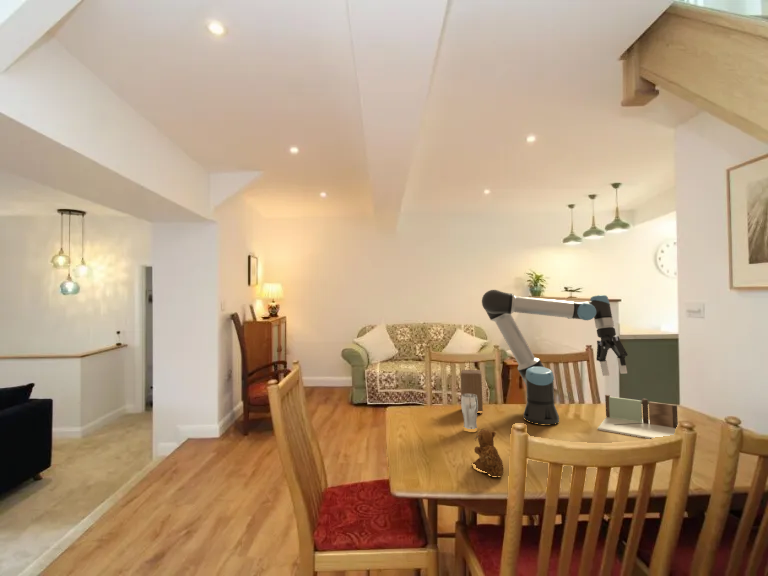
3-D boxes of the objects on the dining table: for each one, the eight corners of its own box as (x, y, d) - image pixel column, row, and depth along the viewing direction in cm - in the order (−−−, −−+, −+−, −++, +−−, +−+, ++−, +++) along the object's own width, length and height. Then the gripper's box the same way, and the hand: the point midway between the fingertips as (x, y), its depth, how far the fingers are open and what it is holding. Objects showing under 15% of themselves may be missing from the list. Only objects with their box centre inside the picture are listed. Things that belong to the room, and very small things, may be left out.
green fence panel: (605, 416, 178) (604, 395, 178) (606, 415, 179) (605, 394, 179) (641, 422, 169) (640, 399, 169) (642, 421, 170) (641, 399, 170)
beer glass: (465, 426, 173) (464, 392, 173) (480, 429, 170) (479, 394, 170) (459, 431, 167) (458, 396, 167) (475, 434, 164) (474, 398, 164)
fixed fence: (642, 425, 168) (641, 399, 168) (643, 423, 170) (642, 398, 170) (677, 430, 160) (676, 403, 161) (678, 429, 162) (677, 402, 162)
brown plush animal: (498, 462, 136) (496, 424, 136) (513, 481, 122) (511, 439, 122) (469, 464, 135) (468, 425, 136) (481, 483, 121) (479, 440, 122)
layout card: (597, 429, 164) (597, 427, 164) (609, 415, 183) (609, 413, 183) (677, 443, 147) (677, 441, 147) (681, 426, 165) (681, 424, 165)
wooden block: (461, 413, 192) (460, 373, 192) (462, 408, 201) (461, 369, 202) (482, 414, 189) (481, 373, 190) (482, 408, 199) (481, 369, 199)
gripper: (629, 322, 170) (640, 372, 164) (598, 332, 194) (607, 376, 188) (613, 323, 170) (623, 372, 164) (583, 333, 194) (591, 376, 188)
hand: (614, 374), depth 176 cm, fingers open, 13 cm apart
